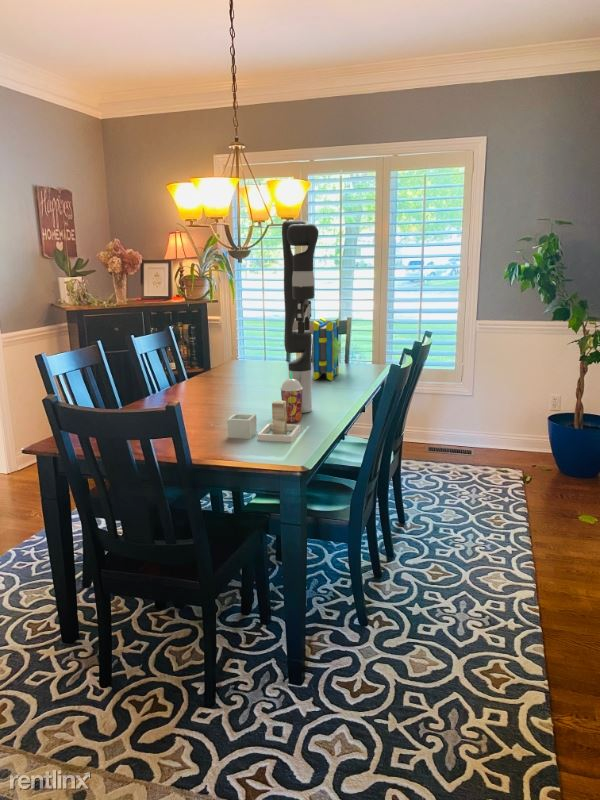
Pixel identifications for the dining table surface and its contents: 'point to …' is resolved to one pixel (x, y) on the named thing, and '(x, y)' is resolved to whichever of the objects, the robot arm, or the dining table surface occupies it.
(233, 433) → the white open box
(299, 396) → the smoothie
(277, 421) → the birch peg
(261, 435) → the plastic tray
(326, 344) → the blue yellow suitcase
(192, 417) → the dining table surface
